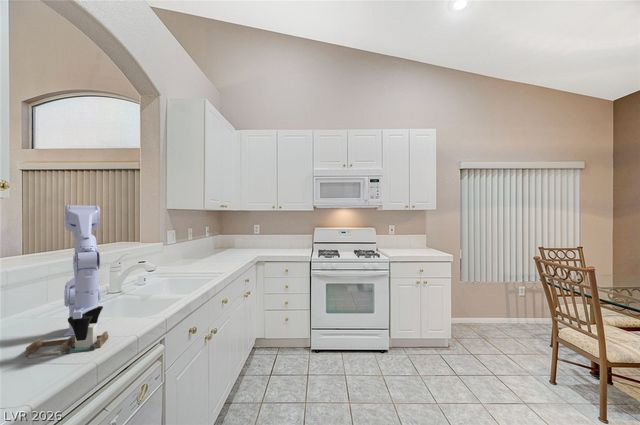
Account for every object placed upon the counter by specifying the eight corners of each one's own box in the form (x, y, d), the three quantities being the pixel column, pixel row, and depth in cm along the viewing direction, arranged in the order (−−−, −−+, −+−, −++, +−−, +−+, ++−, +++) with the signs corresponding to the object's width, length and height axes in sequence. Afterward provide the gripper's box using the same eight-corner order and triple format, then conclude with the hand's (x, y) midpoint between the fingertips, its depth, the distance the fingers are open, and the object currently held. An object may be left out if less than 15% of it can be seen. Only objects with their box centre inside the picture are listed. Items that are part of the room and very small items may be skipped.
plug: (79, 344, 96) (79, 321, 96) (96, 342, 98) (97, 320, 98) (74, 348, 93) (75, 325, 93) (92, 346, 94) (93, 323, 94)
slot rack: (40, 345, 95) (40, 337, 95) (108, 338, 101) (108, 330, 101) (23, 358, 86) (23, 349, 86) (98, 349, 92) (98, 341, 92)
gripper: (80, 286, 101) (80, 328, 101) (59, 297, 87) (59, 346, 87) (105, 285, 103) (105, 326, 103) (89, 295, 90) (89, 343, 89)
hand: (86, 335), depth 95 cm, fingers open, 7 cm apart
